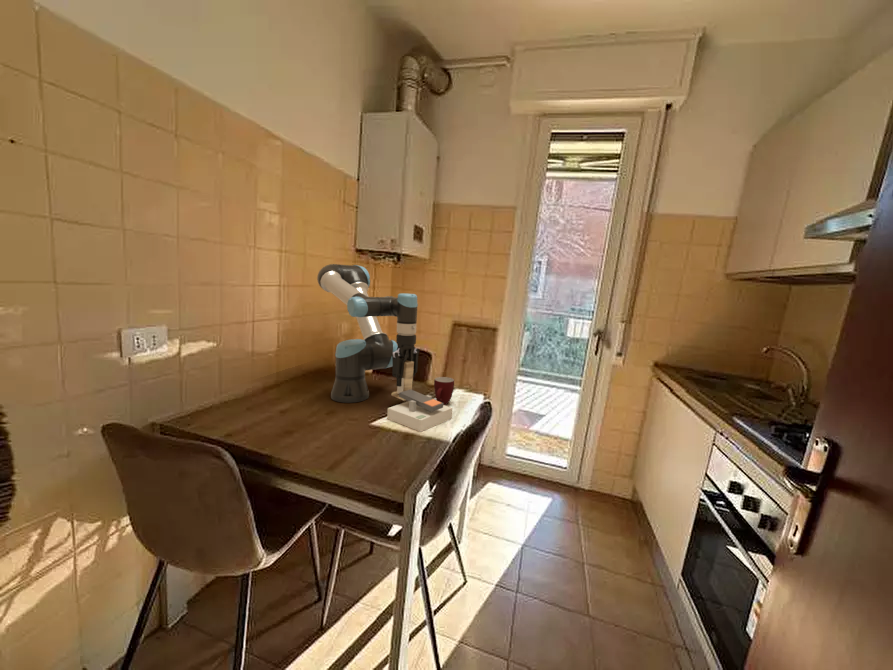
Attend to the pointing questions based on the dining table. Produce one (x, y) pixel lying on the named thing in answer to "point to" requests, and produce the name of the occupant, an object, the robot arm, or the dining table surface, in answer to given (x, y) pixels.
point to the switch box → (418, 415)
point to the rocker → (421, 400)
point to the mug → (443, 389)
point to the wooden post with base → (406, 378)
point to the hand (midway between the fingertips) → (404, 392)
